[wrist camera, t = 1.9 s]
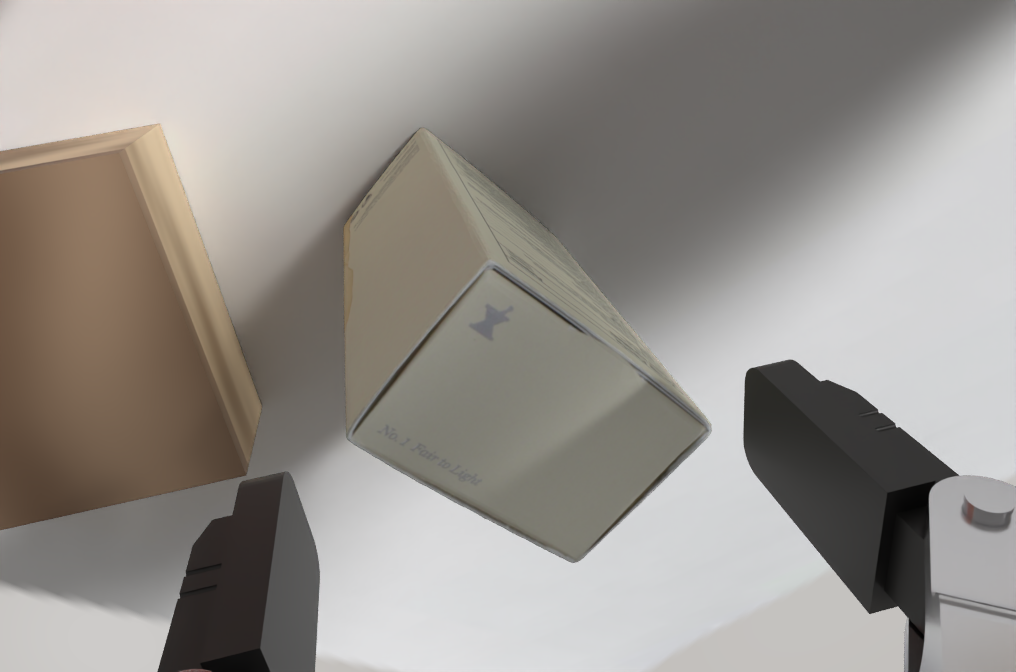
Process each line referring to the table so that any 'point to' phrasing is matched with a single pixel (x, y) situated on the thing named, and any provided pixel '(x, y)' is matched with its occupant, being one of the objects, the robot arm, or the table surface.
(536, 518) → the skincare box
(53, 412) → the pedestal
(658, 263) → the table surface
